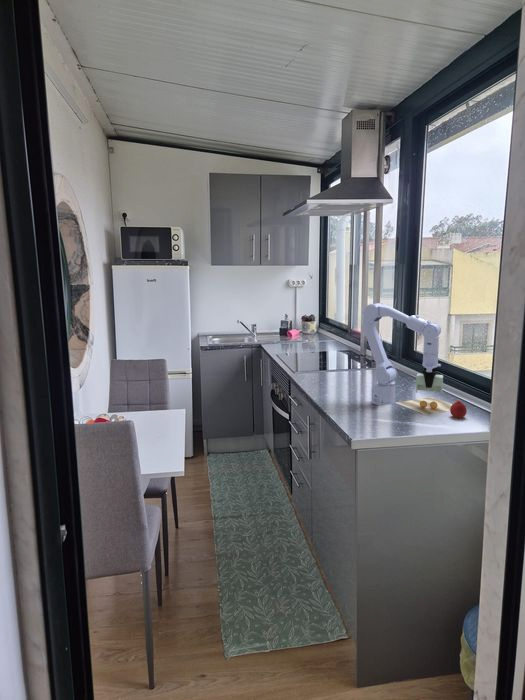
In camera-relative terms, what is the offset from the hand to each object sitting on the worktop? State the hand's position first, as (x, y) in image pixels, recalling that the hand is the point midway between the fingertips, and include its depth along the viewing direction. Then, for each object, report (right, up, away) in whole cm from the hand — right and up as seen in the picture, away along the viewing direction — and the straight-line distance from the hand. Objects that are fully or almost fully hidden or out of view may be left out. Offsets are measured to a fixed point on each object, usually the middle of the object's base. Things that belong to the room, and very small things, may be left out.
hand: (429, 385), depth 187 cm
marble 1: (-2, -8, +2) cm, 8 cm away
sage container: (0, -3, 0) cm, 3 cm away
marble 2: (+2, -8, 0) cm, 8 cm away
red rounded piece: (+7, -12, -11) cm, 18 cm away
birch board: (+2, -10, +5) cm, 11 cm away
